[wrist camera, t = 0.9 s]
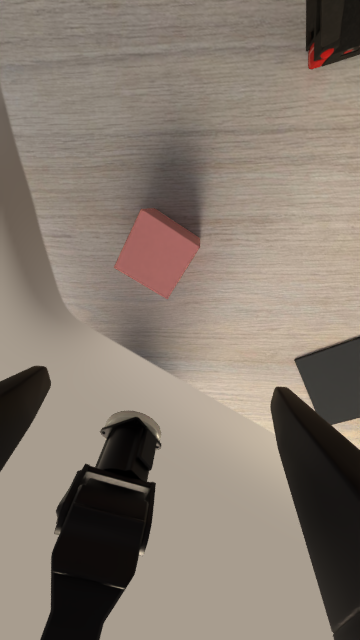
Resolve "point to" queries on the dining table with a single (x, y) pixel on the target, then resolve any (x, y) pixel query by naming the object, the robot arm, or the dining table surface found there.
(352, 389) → the mat
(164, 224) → the block
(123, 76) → the dining table surface
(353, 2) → the handheld gaming console
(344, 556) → the robot arm
